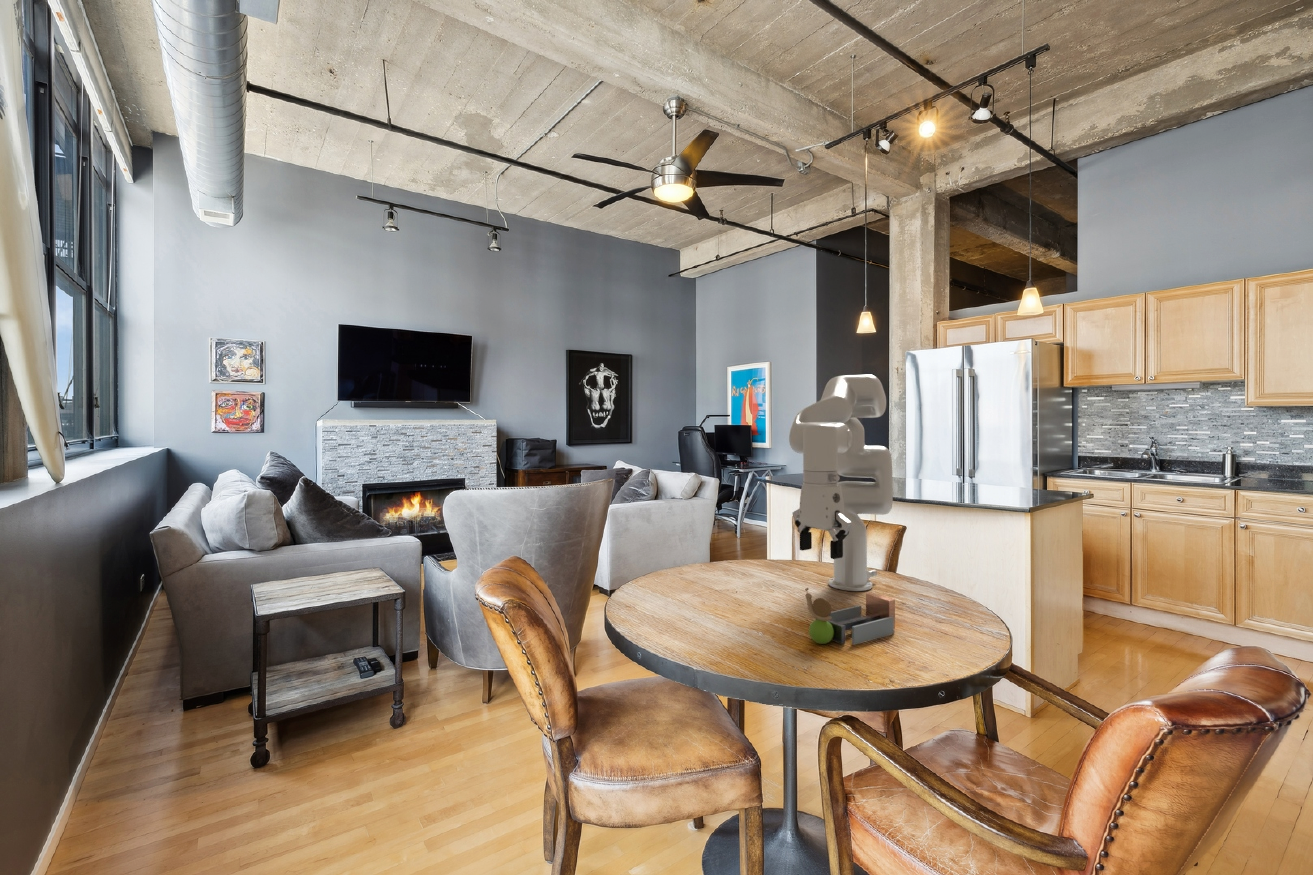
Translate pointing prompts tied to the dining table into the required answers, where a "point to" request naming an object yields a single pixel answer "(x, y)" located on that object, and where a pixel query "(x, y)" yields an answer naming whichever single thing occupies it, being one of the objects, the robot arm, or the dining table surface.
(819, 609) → the snail figurine
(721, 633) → the dining table surface
